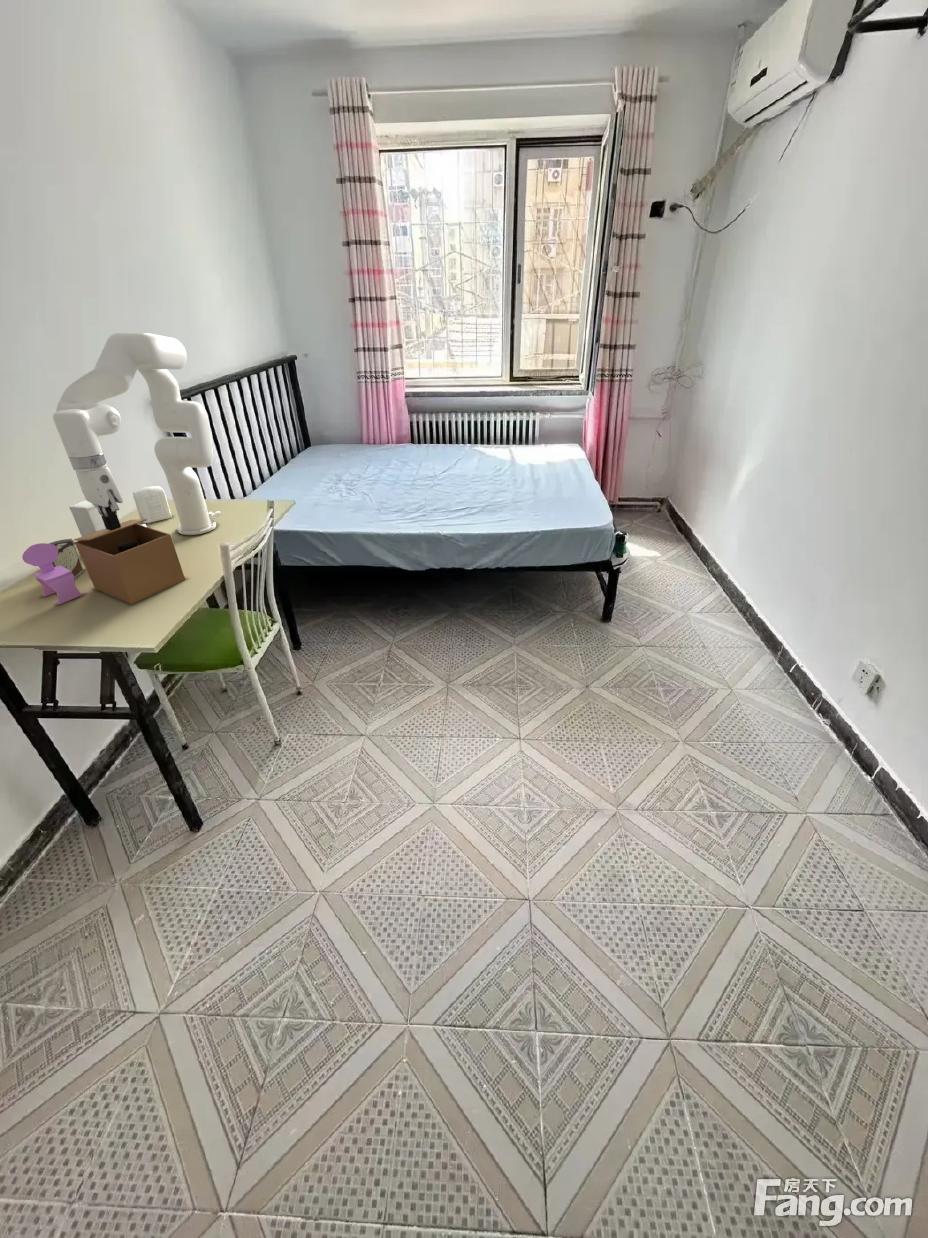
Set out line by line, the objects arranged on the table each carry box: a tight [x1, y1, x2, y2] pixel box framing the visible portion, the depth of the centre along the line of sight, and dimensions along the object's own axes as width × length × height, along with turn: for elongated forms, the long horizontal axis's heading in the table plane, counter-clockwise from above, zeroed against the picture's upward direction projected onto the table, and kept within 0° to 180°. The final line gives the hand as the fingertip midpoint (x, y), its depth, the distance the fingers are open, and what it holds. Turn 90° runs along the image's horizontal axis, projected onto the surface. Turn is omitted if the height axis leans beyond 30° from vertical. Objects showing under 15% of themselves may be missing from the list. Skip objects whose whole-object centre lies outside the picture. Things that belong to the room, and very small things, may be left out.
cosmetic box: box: [68, 499, 106, 537], centre depth 167 cm, size 8×7×16 cm
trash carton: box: [74, 523, 186, 605], centre depth 147 cm, size 18×16×14 cm
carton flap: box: [73, 518, 147, 542], centre depth 144 cm, size 9×16×1 cm, turn 150°
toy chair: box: [22, 542, 83, 606], centre depth 141 cm, size 8×9×15 cm
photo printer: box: [132, 485, 173, 525], centre depth 189 cm, size 10×4×12 cm, turn 134°
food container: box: [47, 538, 84, 579], centre depth 151 cm, size 12×6×10 cm, turn 5°
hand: (113, 528), depth 143 cm, fingers closed
